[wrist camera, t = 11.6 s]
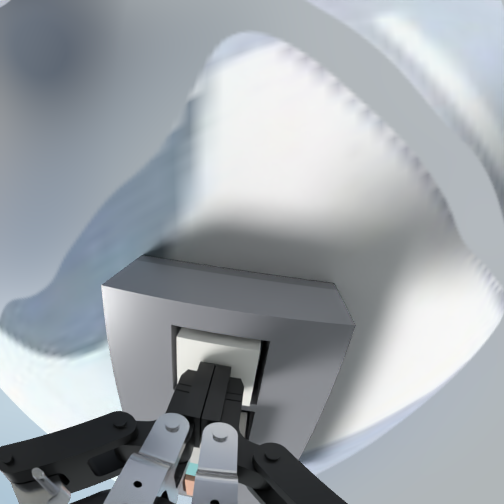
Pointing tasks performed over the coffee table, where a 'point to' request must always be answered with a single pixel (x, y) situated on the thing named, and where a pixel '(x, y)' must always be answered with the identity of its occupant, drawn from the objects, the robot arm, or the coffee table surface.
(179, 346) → the block
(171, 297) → the keypad board
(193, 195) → the coffee table surface
